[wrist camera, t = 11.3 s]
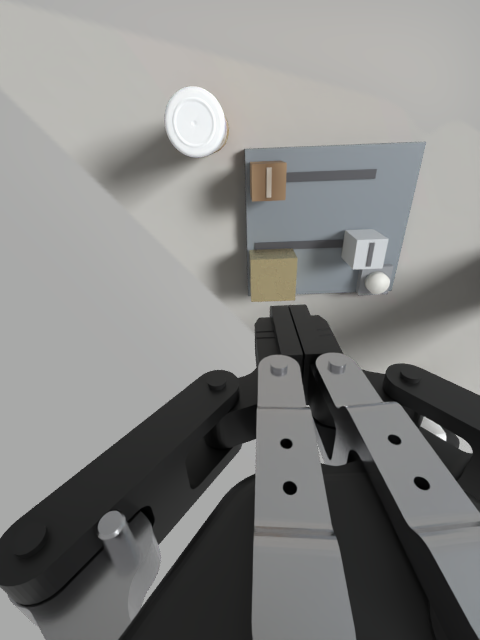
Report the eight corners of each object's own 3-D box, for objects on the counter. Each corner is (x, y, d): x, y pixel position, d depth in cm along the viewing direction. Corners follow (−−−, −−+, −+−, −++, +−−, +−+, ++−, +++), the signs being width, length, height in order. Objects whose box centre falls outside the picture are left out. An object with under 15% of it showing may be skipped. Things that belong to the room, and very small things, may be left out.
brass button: (292, 248, 39) (297, 258, 36) (290, 287, 42) (295, 300, 39) (249, 250, 39) (250, 259, 36) (250, 289, 42) (251, 301, 39)
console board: (419, 141, 35) (443, 141, 31) (386, 286, 44) (402, 300, 40) (244, 148, 35) (245, 149, 31) (248, 291, 44) (249, 306, 40)
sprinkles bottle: (235, 143, 35) (234, 143, 23) (198, 159, 36) (180, 168, 24) (219, 97, 33) (209, 72, 21) (180, 116, 34) (151, 102, 22)
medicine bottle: (431, 387, 54) (477, 446, 44) (401, 412, 57) (438, 472, 47) (402, 371, 52) (443, 428, 42) (373, 398, 55) (404, 457, 45)
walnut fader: (281, 160, 34) (286, 162, 30) (280, 194, 36) (285, 200, 32) (249, 161, 34) (251, 164, 30) (250, 195, 36) (252, 201, 32)
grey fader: (373, 229, 38) (389, 239, 34) (368, 256, 40) (382, 268, 36) (345, 230, 38) (357, 240, 34) (341, 257, 40) (353, 269, 36)
